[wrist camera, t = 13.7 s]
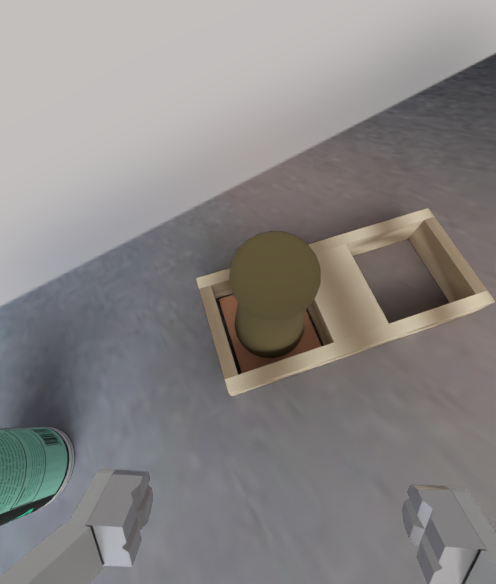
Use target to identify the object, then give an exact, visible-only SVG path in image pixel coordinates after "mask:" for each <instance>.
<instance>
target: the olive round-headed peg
mask: <svg viewBox="0 0 496 584" xmlns="http://www.w3.org/2000/svg"><path fill="white" fill-rule="evenodd" d="M229 279H230V284H231V289H232V293H233V295H234V297H235V298H236V300H237V301H238V305H237V310H236V317H235V325H234V326H235V331H236V335H237V338H238V339H239V341H240V343H241V344H242V346H243V347H244V348H246V349H247V350H248V351H249V352H250V353H252V354H254V355H257V356H259V357H262V358H277V357H281V356H284V355H286V354H288V353H289V352H291V351H292V350H294V348H295V347H296V346H297V345H298V344H299V342H300V341H301V338H302V335H303V333H304V320H305V310H306V309H307V308H308V306H309V305H310V304H311V303H312V302H313V301H314V299H315V297H316V295H317V292H318V289H319V287H320V284H321V269H320V264H319V261H318V259H317V256H316V254H315V253H314V251H313V250H312V249H311V248H310V246H309V245H308V244H307V243H306V242H304V241H303V240H301V239H300V238H298V237H297V236H295V235H292V234H289V233H286V232H280V231H269V232H265V233H260V234H258V235H256V236H254V237H252V238H250V239H248V240H247V241H246V242H245V243H244V244H242V245H241V246H240V247H239V248H238V250H237V252H236V254H235V255H234V257H233V259H232V262H231V266H230V273H229Z"/></svg>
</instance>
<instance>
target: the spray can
mask: <svg viewBox="0 0 496 584" xmlns="http://www.w3.org/2000/svg"><path fill="white" fill-rule="evenodd" d="M74 459H75V457H74V449H73V445H72V443H71V441H70V439H69V437H68V436H67V435H66V434H65V433H64V432H62V431H61V430H59V429H56V428H52V427H27V428H4V429H0V526H1V525H3V524H5V523H8V522H10V521H13V520H15V519H17V518H20V517H22V516H24V515H27V514H29V513H32V512H34V511H36V510H39V509H41V508H43V507H44V506H46V505H48V504H49V503H51V502H52V501H53V500H54V499H56V498H57V497H58V496H59V495H60V493H61V492H62V491H63V490H64V488H65V487H66V485H67V483H68V481H69V479H70V477H71V475H72V471H73V467H74Z"/></svg>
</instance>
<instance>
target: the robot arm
mask: <svg viewBox="0 0 496 584" xmlns="http://www.w3.org/2000/svg"><path fill="white" fill-rule="evenodd" d="M149 481H150V476H149V472H147V471H132V470H118V469H100V470H99V471H98V472H97V473H96V474H95V476H94V478H93V480H92V481H91V483H90V485H89V487H88V489H87V490H86V492H85V494H84V496H83V497H82V499H81V501H80V503H79V504H78V506H77V508H76V510H75V512H74V513H73V515H72V517H71V519H70V520H69V522H68V524H67V525H61V526H60V527H59V528H58V529H56V530H55V531H54V532H53V533H52V534H50V535H49V536H48V537H47V538H46V539H44V540H43V541H42V542H41V543H40V544H38V545H37V546H36V547H35V548H34V549H32V550H31V551H30V552H29V553H28V554H26V555H25V556H24V557H23V558H22V559H20V560H19V561H18V562H17V563H16V564H14V565H13V566H12V567H11V568H10V569H9V570H7V571H6V572H5V573H4V574H3V575H1V576H0V584H90V583H91V582H92V581H93V579H94V578H95V577H96V576H97V575H98V574H99V572H100V571H101V570H102V569H103V566H124V567H132V566H133V563H134V560H135V557H136V554H137V551H138V548H139V545H140V542H141V535H140V530H141V529H142V528H143V527H144V526H145V525H146V524H147V522H148V518H149V515H150V512H151V507H152V502H153V492H152V488H151V487H150V486H149V485H148V483H149ZM407 493H408V495H409V499H408V500H406V501H405V502H404V505H403V509H402V513H403V521H404V525H405V529H406V531H407V534H408V537H409V539H410V540H411V541H412V542H413V543H414V544H415V545H416V546H417V547H418V553H417V559H418V562H419V564H420V567H421V569H422V572H423V574H424V577H425V579H426V582H427V584H496V533H495V531H494V530H493V528H492V527H491V525H490V524H489V522H488V521H487V519H486V518H485V516H484V514H483V513H482V511H481V510H480V508H479V507H478V505H477V504H476V502H475V501H474V499H473V498H472V496H471V495H470V493H469V492H468V491H467V490H466V489H465V488H463V487H448V486H437V485H411V486H409V488H408V491H407Z"/></svg>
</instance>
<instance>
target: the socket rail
mask: <svg viewBox="0 0 496 584" xmlns="http://www.w3.org/2000/svg"><path fill="white" fill-rule="evenodd" d="M406 239H409V241H410V242H411V244H412V245H413V247H414V248H415V250H416V252H417V253H418V255H419V256H420V258H421V259H422V261H423V262H424V264H425V265H426V267H427V269H428V270H429V272H430V273H431V275H432V276H433V278H434V279H435V281H436V282H437V284H438V286H439V287H440V289H441V290H442V292H443V293H444V295H445V296H446V298H447V299H448V301H449V304H446V305H443V306H440V307H437V308H434V309H431V310H428V311H425V312H422V313H419V314H416V315H413V316H410V317H407V318H404V319H402V320H399V321H396V322H393V323H390V324H389V323H388V321H387V319H386V317H385V315H384V314H383V312H382V310H381V308H380V306H379V304H378V302H377V301H376V299H375V297H374V295H373V293H372V291H371V290H370V288H369V286H368V284H367V282H366V280H365V278H364V277H363V275H362V273H361V271H360V269H359V267H358V265H357V264H356V262H355V260H354V258H353V256H355V255H358V254H361V253H364V252H368V251H371V250H374V249H377V248H380V247H384V246H387V245H390V244H393V243H397V242H400V241H403V240H406ZM308 245H309V246H310V248H311V249H312V250H313V251H314V253H315V254H316V256H317V259H318V261H319V264H320V269H321V284H320V287H319V289H318V292H317V295H316V297H315V299H314V301H313V302H312V303H311V304H310V305H309V306H308V308H307V309H308V311H309V313H310V316H311V318H312V320H313V323H314V325H315V327H316V329H317V332H318V334H319V336H320V339H321V341H322V343H323V346H321V344H320V341H319V339H318V337H317V334H316V332H315V330H314V327H313V325H312V323H311V320H310V318H309V316H308V313H307V311H306V310H305V320H304V333H303V335H302V338H301V341H300V342H299V344H298V345H297V346H296V347H295V348H294V350H292V351H291V352H289V353H288V354H286V355H284V356H281V357H277V358H262V357H259V356H257V355H254V354H252V353H250V352H249V351H248V350H247V349H246V348H244V347H243V346H242V344H241V343H240V341H239V339H238V338H237V335H236V331H235V326H234V325H235V317H236V310H237V305H238V301H237V300H236V298H235V297H234V295H231V296H227V297H224V298H221V299H219V302H220V305H221V308H222V311H223V315H224V318H225V321H226V324H227V328H228V331H229V334H230V337H231V341H232V344H233V347H234V350H235V354H236V357H237V360H238V363H239V367H240V370H241V373H242V374H238V370H237V367H236V364H235V360H234V357H233V354H232V351H231V347H230V344H229V341H228V337H227V334H226V331H225V327H224V324H223V321H222V318H221V314H220V311H219V308H218V304H217V301H216V299H217V298H220V297H223V296H226V295H230V294H233V293H232V289H231V284H230V279H229V273H230V268H229V269H225V270H222V271H219V272H215V273H212V274H209V275H205V276H202V277H199V278H196V280H197V283H198V287H199V290H200V294H201V297H202V301H203V305H204V308H205V312H206V315H207V319H208V322H209V326H210V329H211V333H212V336H213V340H214V343H215V347H216V350H217V354H218V358H219V361H220V365H221V368H222V372H223V375H224V379H225V382H226V386H227V389H228V393H229V394H230V395H231V396H234V395H237V394H240V393H243V392H246V391H249V390H252V389H255V388H257V387H260V386H263V385H266V384H269V383H272V382H275V381H278V380H281V379H284V378H286V377H289V376H292V375H295V374H298V373H301V372H304V371H307V370H310V369H313V368H315V367H318V366H321V365H324V364H327V363H330V362H333V361H336V360H339V359H342V358H344V357H347V356H350V355H353V354H356V353H359V352H362V351H365V350H368V349H370V348H373V347H376V346H379V345H382V344H385V343H388V342H391V341H394V340H397V339H399V338H402V337H405V336H408V335H411V334H414V333H417V332H420V331H423V330H426V329H428V328H431V327H434V326H437V325H440V324H443V323H446V322H449V321H452V320H454V319H457V318H460V317H463V316H466V315H469V314H471V313H473V312H475V311H477V310H479V309H481V308H483V307H486V306H488V305H490V304H492V303H494V302H495V301H494V299H493V298H492V296H491V295H490V294H489V292H488V291H487V289H486V288H485V287H484V285H483V284H482V282H481V281H480V280H479V278H478V277H477V275H476V274H475V273H474V271H473V270H472V269H471V267H470V266H469V264H468V263H467V262H466V260H465V259H464V257H463V256H462V255H461V253H460V252H459V250H458V249H457V248H456V246H455V245H454V243H453V242H452V241H451V239H450V238H449V236H448V235H447V234H446V232H445V231H444V229H443V228H442V227H441V225H440V224H439V222H438V221H437V220H436V218H435V217H434V215H433V214H432V213H431V211H430V210H429V208H427V209H423V210H420V211H417V212H413V213H410V214H407V215H404V216H400V217H397V218H394V219H390V220H387V221H384V222H380V223H377V224H374V225H371V226H367V227H364V228H361V229H357V230H354V231H351V232H347V233H344V234H341V235H337V236H334V237H331V238H328V239H324V240H321V241H318V242H314V243H311V244H308Z"/></svg>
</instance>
